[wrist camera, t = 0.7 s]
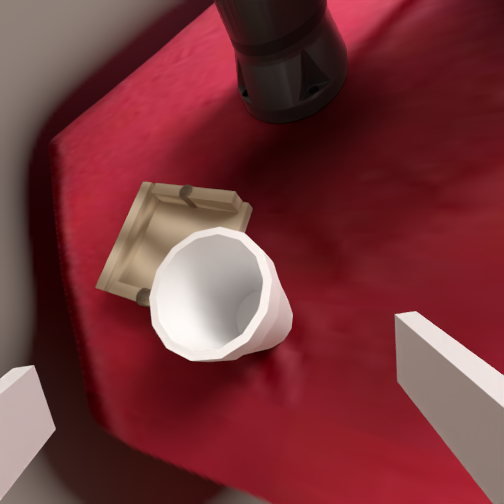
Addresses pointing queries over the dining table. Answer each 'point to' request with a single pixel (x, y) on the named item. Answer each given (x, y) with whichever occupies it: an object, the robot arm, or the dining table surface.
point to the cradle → (165, 232)
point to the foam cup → (218, 298)
